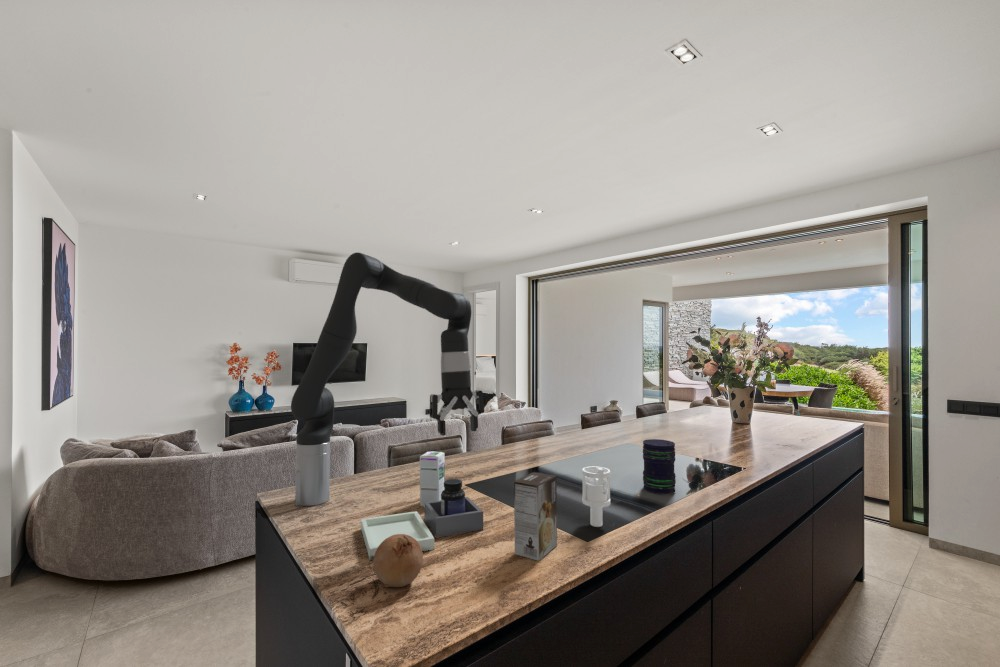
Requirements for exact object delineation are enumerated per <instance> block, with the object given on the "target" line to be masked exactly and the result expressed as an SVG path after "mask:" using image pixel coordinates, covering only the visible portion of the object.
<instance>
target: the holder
mask: <svg viewBox="0 0 1000 667" xmlns="http://www.w3.org/2000/svg"><path fill="white" fill-rule="evenodd" d="M423 507H424V514H423V515H424V516H423V518H424V520H423V521H424V522H425V524H426V525H427V527H428V528H429V527H430V528H429V530H430V531H431V530H432V531H431V533H432V534H433V533H434V534H433V536H434V537H435V536H436V537H437V538H442V537H441V536H443V537H448V535H449V536H454V534H455V535H460V533H461V534H465V533H472V531H473V532H478V530H479V531H484V510H482V509H481V508H480V507H479V505H477V504H476V503H475V501H473V500H472V499H471V498H470V497H468V496H465V513H460V514H453V515H446V516H441V500H440V501H432V502H425V506H423ZM436 537H435V538H436Z"/></svg>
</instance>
